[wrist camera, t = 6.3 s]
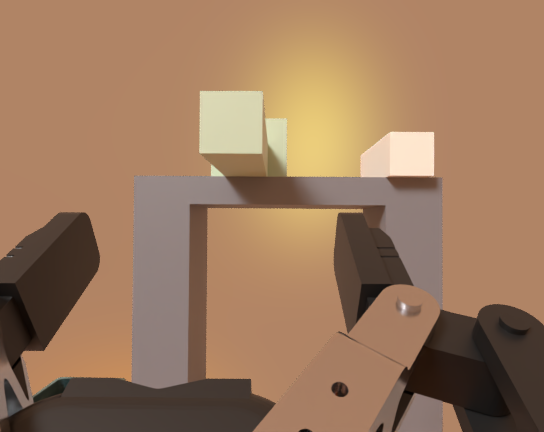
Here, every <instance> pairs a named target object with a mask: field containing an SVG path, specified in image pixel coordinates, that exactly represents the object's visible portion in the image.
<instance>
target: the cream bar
mask: <svg viewBox="0 0 544 432" xmlns="http://www.w3.org/2000/svg"><path fill="white" fill-rule="evenodd" d="M431 176H434V132H390V133H388V134H387V135H386V136H384V137H383V138H382V139H381V140H379V141H378V142H377V143H376V144H375V145H373V146H372V147H371V148H369V149H368V150H367V151H366V152H364V153H363V154H362V155H361V177H431Z"/></svg>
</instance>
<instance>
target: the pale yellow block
mask: <svg viewBox="0 0 544 432" xmlns="http://www.w3.org/2000/svg"><path fill="white" fill-rule="evenodd" d="M200 154H201V155H202V156H203V157H204V158H205V159H206V160H208V161H209V162H210V163H211V176H249V177H287V175H286V174H287V119H265V112H264V100H263V91H200Z"/></svg>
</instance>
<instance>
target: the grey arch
mask: <svg viewBox="0 0 544 432" xmlns="http://www.w3.org/2000/svg"><path fill="white" fill-rule="evenodd" d="M207 208H306V209H363V215H364V217H365V220H366V222H367V225H368V227H369V228H380V229H381V230H382V231H383V232H385V233H386V234H387V235H388V236H390V238H391V240H392V242H393V244H394V246H395V249H396V250H397V252H398V254H399V258H401V260H402V262H403V264H404V266H405V268H406V270H407V273H408V275H409V277H410V279H411V281H412V283H413V285H414V287H417V288H420V289H422V290H424V291H426V292H428V293H429V294H430V295H432V296H433V297H434V298H435V299H436V301H437V302H438V304H439V306H440V309H441V310H442V178H429V177H249V176H134V244H133V245H134V247H133V319H132V383H136V384H140V385H143V386H147V387H151V388H155V389H160V388H166V387H170V386H175V385H180V384H184V383H189V382H194V381H198V380H203V379H206V294H207V291H206V290H207V288H206V287H207ZM398 432H442V401H440V400H436V399H433V398H430V397H426V396H423V395H420V394H416V396H415V398H414V400H413V402H412V404H411V406H410V408H409V410H408V412H407V414H406V416H405V418H404V420H403V422H402V424H401V426H400V428H399V430H398Z"/></svg>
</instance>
